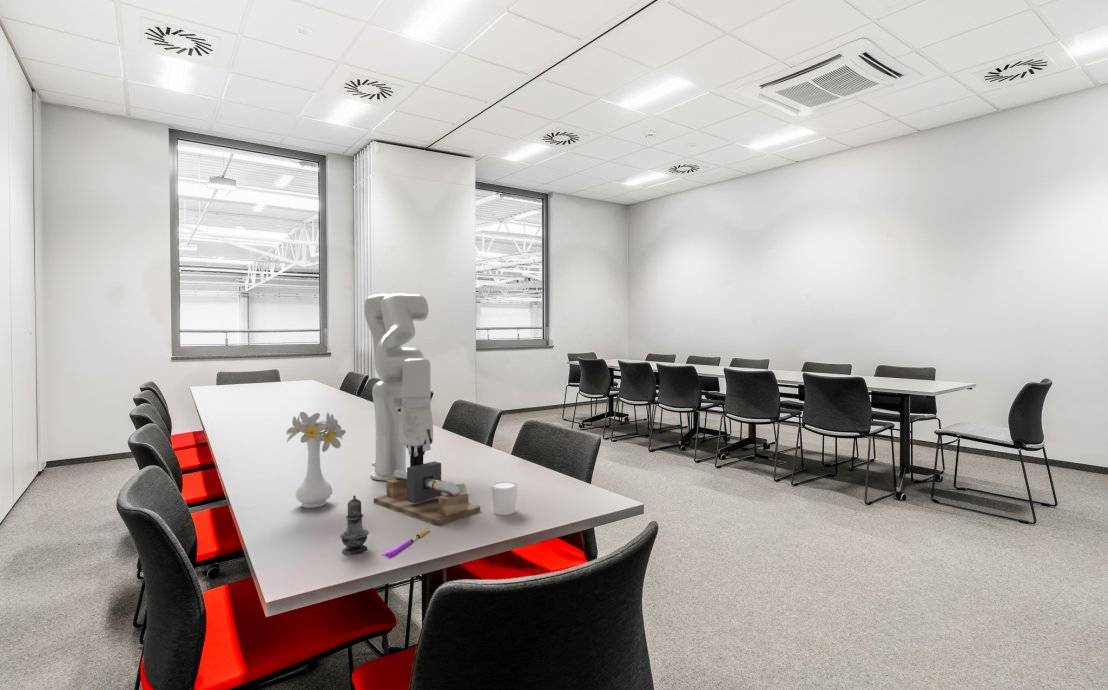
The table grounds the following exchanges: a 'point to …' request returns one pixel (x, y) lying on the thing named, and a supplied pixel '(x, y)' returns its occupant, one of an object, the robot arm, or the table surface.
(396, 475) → the pipe
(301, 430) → the flower vase
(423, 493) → the collar
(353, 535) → the salt shaker
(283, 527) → the table surface
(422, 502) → the pipe stand
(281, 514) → the table surface
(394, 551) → the purple and yellow tool
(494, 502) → the shot glass
